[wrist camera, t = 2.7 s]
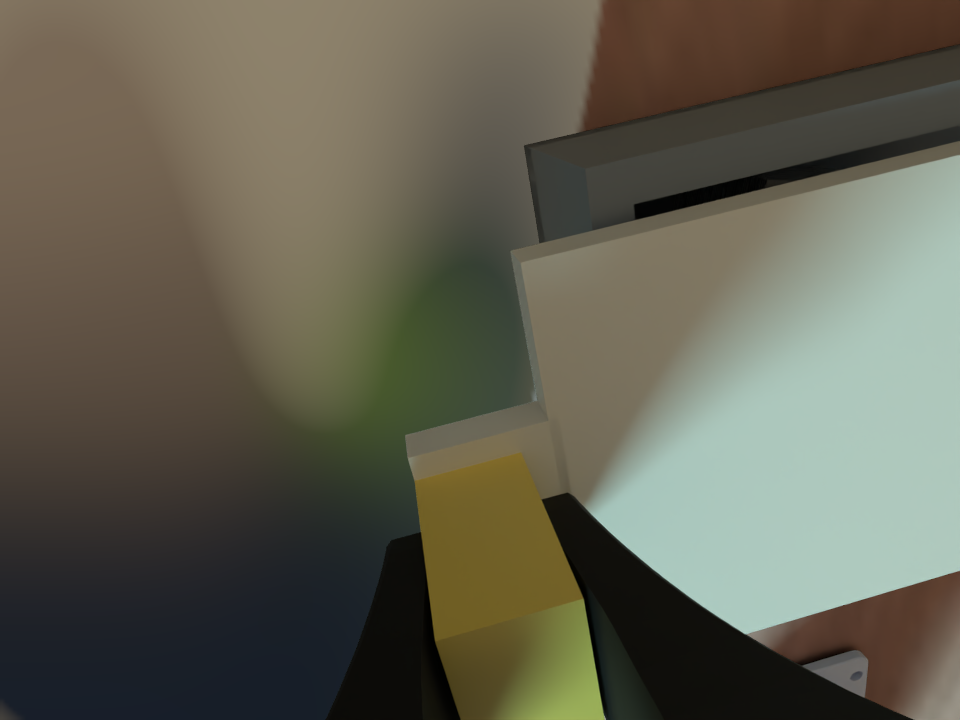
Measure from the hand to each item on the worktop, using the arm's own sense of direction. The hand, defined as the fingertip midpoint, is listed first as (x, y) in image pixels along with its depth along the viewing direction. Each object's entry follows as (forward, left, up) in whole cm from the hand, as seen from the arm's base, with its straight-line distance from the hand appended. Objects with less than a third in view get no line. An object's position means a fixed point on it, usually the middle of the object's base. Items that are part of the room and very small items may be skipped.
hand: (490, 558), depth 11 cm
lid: (0, -7, -2) cm, 7 cm away
